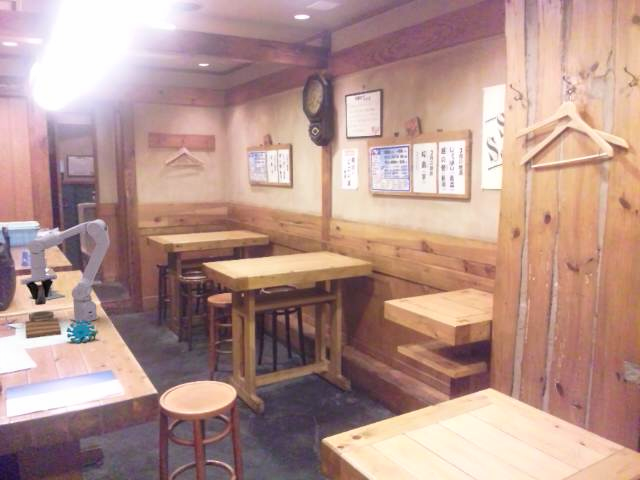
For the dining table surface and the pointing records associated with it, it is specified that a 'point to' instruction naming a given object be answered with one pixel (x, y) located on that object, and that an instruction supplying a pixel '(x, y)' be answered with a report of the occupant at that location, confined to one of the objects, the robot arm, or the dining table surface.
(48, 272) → the cup with straw
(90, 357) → the dining table surface
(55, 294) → the shower valve
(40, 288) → the hinge pin
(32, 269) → the robot arm
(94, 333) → the gear
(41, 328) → the brown piece
